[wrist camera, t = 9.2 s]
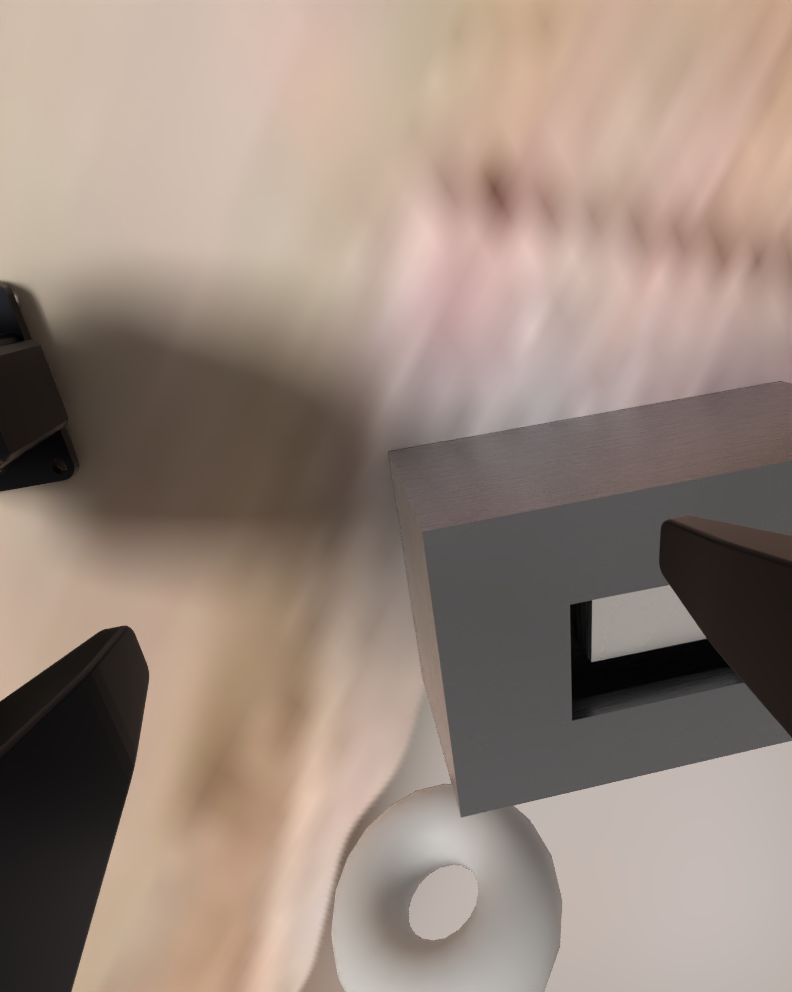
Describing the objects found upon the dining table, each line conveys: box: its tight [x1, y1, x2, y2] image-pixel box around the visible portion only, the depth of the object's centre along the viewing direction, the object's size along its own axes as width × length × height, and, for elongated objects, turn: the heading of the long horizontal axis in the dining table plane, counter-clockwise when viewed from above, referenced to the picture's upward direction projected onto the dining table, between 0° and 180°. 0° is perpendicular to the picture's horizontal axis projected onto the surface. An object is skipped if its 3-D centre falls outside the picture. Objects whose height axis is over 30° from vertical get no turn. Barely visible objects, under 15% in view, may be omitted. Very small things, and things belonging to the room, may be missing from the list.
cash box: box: [388, 381, 792, 817], centre depth 20 cm, size 16×11×7 cm
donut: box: [331, 784, 562, 992], centre depth 24 cm, size 10×3×10 cm, turn 111°
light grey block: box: [570, 584, 707, 662], centre depth 21 cm, size 6×2×5 cm, turn 97°
